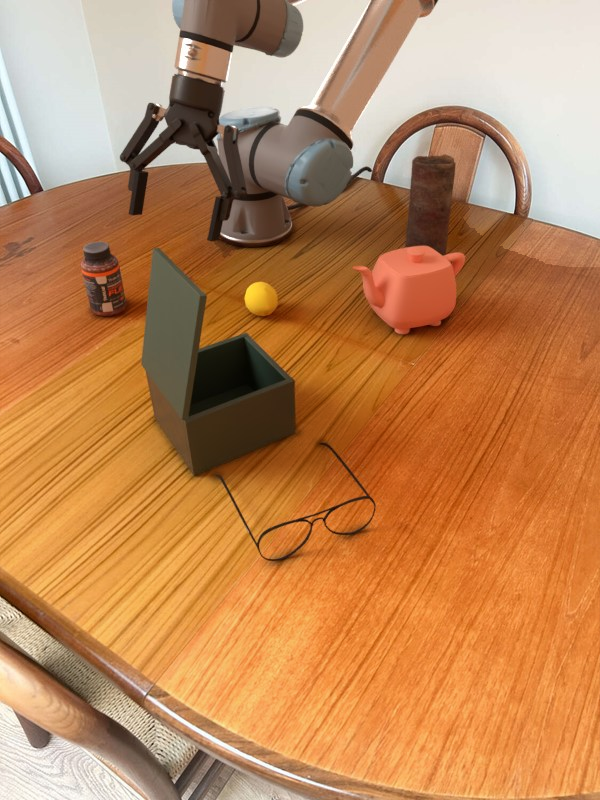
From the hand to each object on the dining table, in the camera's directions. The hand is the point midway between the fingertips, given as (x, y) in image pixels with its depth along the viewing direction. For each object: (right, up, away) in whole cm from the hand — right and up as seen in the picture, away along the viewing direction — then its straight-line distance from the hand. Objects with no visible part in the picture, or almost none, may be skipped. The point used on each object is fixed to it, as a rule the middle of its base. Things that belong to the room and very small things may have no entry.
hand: (173, 227), depth 101 cm
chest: (+9, -30, -14) cm, 34 cm away
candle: (+42, -2, +20) cm, 47 cm away
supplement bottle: (-13, -11, +10) cm, 19 cm away
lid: (+5, -19, -26) cm, 33 cm away
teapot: (+37, -13, +7) cm, 40 cm away
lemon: (+13, -12, +8) cm, 20 cm away
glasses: (+19, -39, -24) cm, 49 cm away
